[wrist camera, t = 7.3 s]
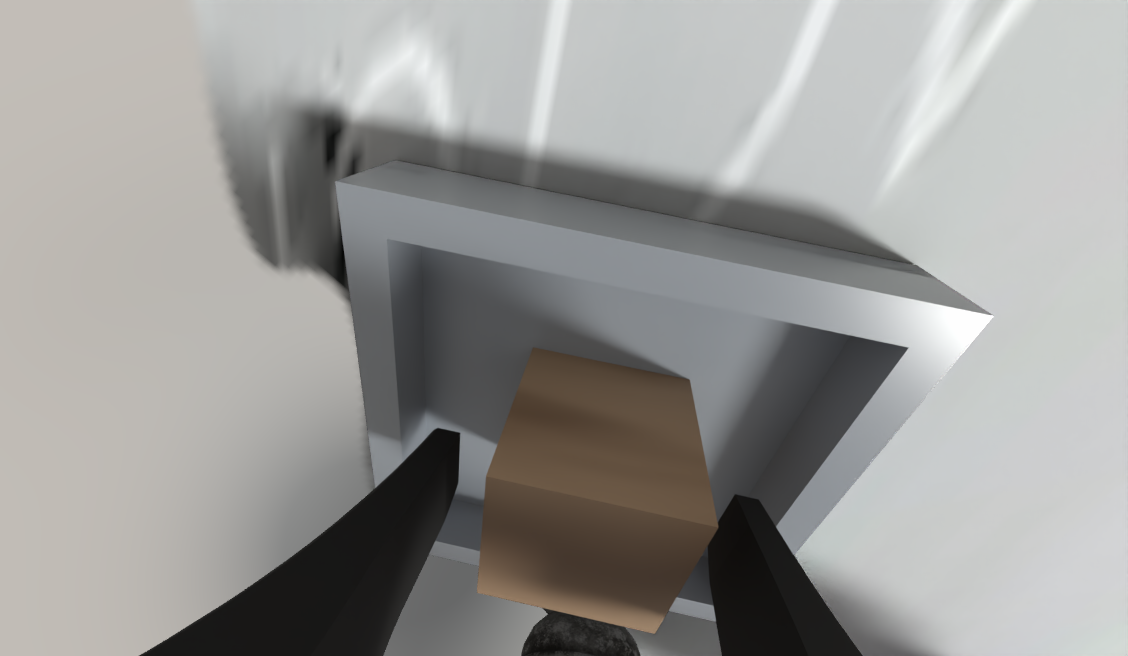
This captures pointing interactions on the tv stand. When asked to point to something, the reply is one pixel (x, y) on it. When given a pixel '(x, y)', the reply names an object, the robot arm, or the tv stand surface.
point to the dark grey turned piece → (578, 637)
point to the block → (596, 493)
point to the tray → (634, 336)
